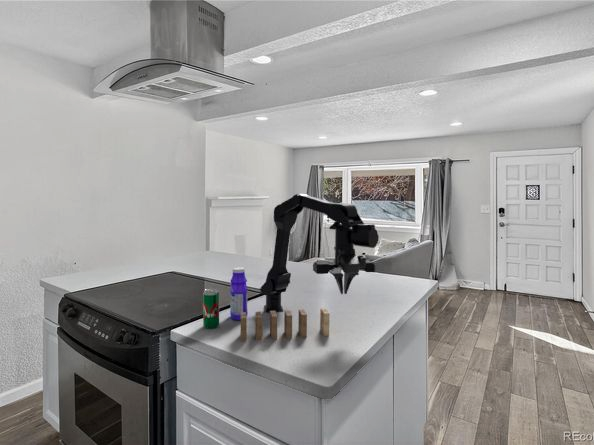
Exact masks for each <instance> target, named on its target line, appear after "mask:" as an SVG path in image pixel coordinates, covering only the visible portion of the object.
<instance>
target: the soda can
mask: <svg viewBox="0 0 594 445" xmlns="http://www.w3.org/2000/svg"><path fill="white" fill-rule="evenodd" d="M202 317H203V318H202V319H203V320H202V325H203V327H204V329H209V330H212V329H216V328H218V327H219V326H220V292H219V290H218V289H217V288H205V289H204V291H203V293H202Z"/></svg>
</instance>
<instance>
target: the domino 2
mask: <svg viewBox="0 0 594 445" xmlns="http://www.w3.org/2000/svg"><path fill="white" fill-rule="evenodd" d="M254 317H255V320H254V321H255V322H254V323H255V332H254V333H255V338H256V341H262V340H263V315H262V311H260V310H259V311H255V316H254Z"/></svg>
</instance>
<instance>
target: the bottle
mask: <svg viewBox="0 0 594 445" xmlns="http://www.w3.org/2000/svg"><path fill="white" fill-rule="evenodd" d="M245 271H246V270H245V268H244V267H242V266H240V267H239V266H238V267H234V268H232V277H231V279H230V283H231V284H230V288H229V291H230V296H229V298H230V299H229V300H230V311H229V312H230V317H231V319H232V320H236V321H241V312H246V317H247V318H248V286H247V282H248V280H247V278H246V274H245V273H246V272H245Z"/></svg>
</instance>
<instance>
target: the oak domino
mask: <svg viewBox="0 0 594 445" xmlns="http://www.w3.org/2000/svg"><path fill="white" fill-rule="evenodd" d="M319 310H320V311H319V314H320V316H319V323H320V324H319V330H320V331H321V333H322V334H323V336H324V337H325V336H327V337H328V336H330V312H329V311H328V309H327V308H325V307H320V309H319Z"/></svg>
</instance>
